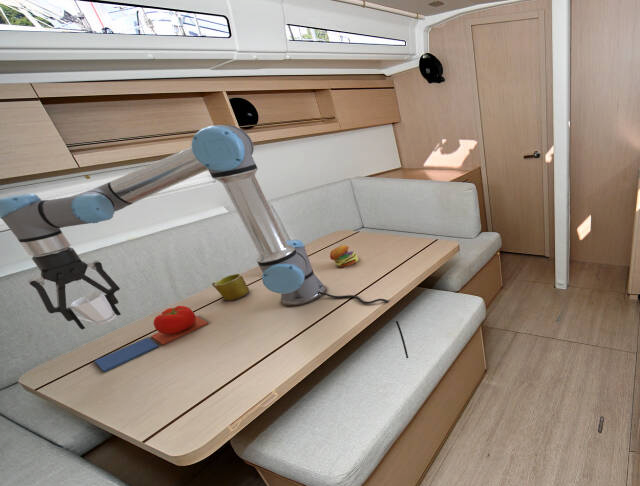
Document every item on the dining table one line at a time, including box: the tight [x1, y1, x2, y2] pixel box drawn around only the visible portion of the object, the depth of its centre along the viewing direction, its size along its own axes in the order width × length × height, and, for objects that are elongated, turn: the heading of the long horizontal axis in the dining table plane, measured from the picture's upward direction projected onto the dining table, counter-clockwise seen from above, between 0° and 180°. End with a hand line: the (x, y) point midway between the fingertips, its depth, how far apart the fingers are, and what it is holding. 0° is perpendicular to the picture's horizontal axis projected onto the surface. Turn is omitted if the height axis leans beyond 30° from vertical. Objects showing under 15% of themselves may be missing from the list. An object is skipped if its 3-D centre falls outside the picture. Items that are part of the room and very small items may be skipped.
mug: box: [211, 273, 250, 301], centre depth 143 cm, size 12×10×10 cm
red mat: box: [151, 315, 209, 346], centre depth 124 cm, size 10×13×1 cm
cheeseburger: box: [329, 244, 359, 268], centre depth 164 cm, size 10×11×10 cm
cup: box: [67, 291, 117, 325], centre depth 104 cm, size 7×10×8 cm
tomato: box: [153, 305, 197, 334], centre depth 122 cm, size 11×11×8 cm
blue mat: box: [94, 337, 159, 373], centre depth 113 cm, size 10×13×1 cm
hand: (100, 320), depth 106 cm, fingers closed on cup, 7 cm apart
